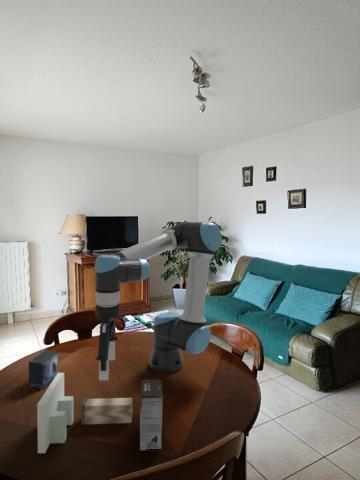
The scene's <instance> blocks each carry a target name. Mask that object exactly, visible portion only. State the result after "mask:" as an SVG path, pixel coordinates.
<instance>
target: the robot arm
mask: <svg viewBox="0 0 360 480" xmlns="http://www.w3.org/2000/svg"><path fill="white" fill-rule="evenodd" d="M222 243H223V236H222V232H221V230H220V228H219V227H218V225H216V224H215V223H213V222H208V221H202V222H201V221H197V222H196V221H195V222H194V221H186V222H181V223H177V224H175V225H173V226H170V227H168V228H165V229H163V230H162V231H161V232H160V233H159V234H157V235H155V236H153V237H150V238H148V239H146V240H143V241H140V242H139V243H137V244H134V245H131V246H130V247H127V248H124V249H123V250H120V251H118V252H115V253H112V254H102V255H101V254H100V255H98V256H97V257H96V260H95V262H94V272H95V293H94V294H93V297H95V317H96V318H97V319H100V320H102V321H101V323H100V326H99V340H98V351H97V353H98V354H97V357H95V358H96V361H98V381H109V373H110V372H109V365H110V364H109V363H110V362H109V361H115V360H116V341H117V340H118V336H117V334H116V333H117V332H116V321H115V319H116V318H118V317H119V316H120V315H121V314H120V313H121V312H120V309H121V305H120V303H121V285H122V284H127V283H133V282H141V281H143V280H146V279H148V278H149V276H150V274H151V266H150V263H149V261H148V260H150V259H152V258H154V257H157V256H158V255H161V254H162V253H165V252H168V251H174V250H176V249H186V254H188V255H189V262H188V270H187V271H188V272H187V279H186V286H185V287H186V288H185V296H184V304H183V311H182V314H181V315H180V313H178V312H164V313H160V314H157V315H156V316H154V318H153V349H152V352H151V355H150V358H149V367H150V369H152V370H153V371H155V372H158V373H163V374H164V373H167V374H169V373H173V372H177V371H180V370H181V369H183V367H184V358H183V355H182V351H181V350H183V351H185V352H186V353H190V354H195V355H199V354H201V353H203V352H204V351H205V349H206V348H207V347H209V343H210V341H211V335H212V332H211V329H210V328H209V327H208V326H207V318H205V316H204V315H205V306H206V298H207V297H206V296H207V290H208V281H209V273H210V266H211V265H210V264H211V259H212V258H214V257H215V252H217V251H219V249H220V247H222Z"/></svg>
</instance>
